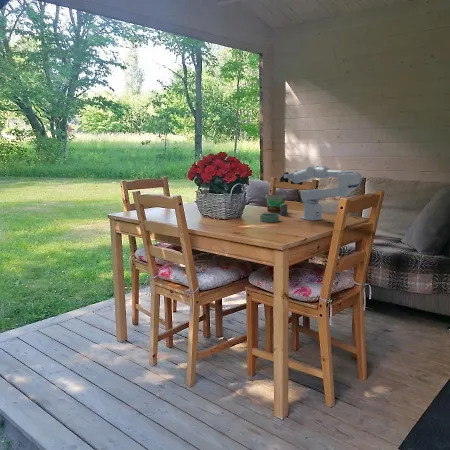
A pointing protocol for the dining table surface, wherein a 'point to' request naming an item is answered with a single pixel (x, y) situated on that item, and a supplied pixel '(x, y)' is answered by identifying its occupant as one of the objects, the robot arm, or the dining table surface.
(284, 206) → the cell
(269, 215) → the green short cylinder
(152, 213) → the dining table surface
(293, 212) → the dining table surface
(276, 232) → the dining table surface
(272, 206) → the food container
